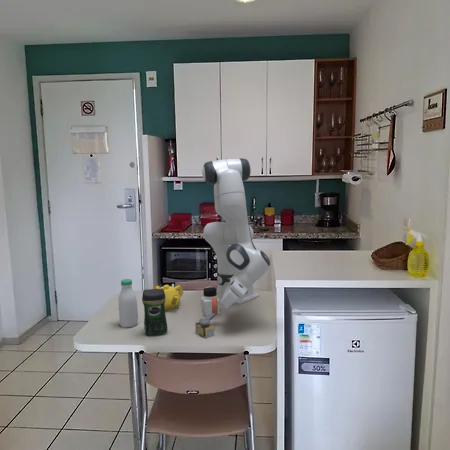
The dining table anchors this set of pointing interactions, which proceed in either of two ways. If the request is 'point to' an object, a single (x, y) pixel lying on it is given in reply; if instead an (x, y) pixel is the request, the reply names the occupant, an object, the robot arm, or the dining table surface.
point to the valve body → (204, 330)
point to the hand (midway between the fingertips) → (218, 305)
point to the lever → (213, 314)
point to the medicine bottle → (208, 300)
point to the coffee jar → (154, 312)
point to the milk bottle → (127, 305)
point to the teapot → (171, 296)
